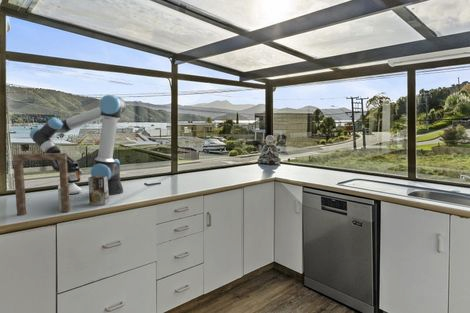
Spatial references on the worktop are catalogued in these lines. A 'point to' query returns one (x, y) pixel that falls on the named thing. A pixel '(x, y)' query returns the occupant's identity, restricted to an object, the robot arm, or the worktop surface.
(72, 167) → the supplement container
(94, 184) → the coffee box
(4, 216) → the worktop surface
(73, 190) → the flower in vase
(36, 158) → the door frame
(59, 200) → the door
